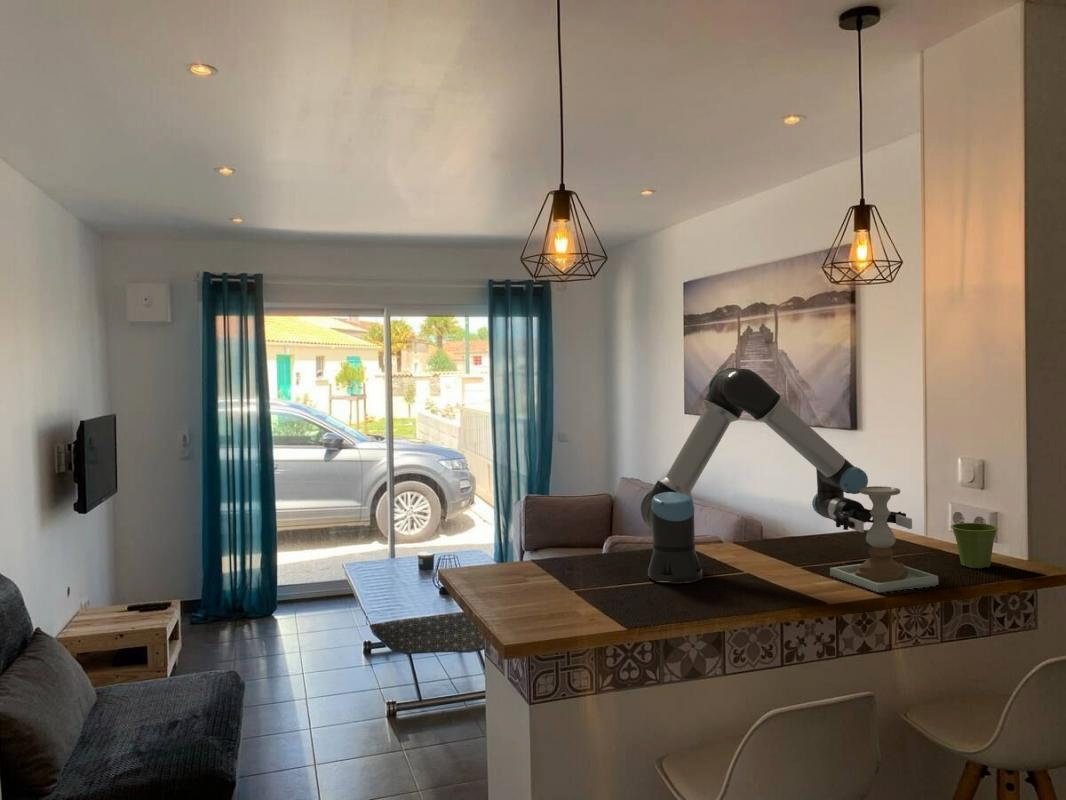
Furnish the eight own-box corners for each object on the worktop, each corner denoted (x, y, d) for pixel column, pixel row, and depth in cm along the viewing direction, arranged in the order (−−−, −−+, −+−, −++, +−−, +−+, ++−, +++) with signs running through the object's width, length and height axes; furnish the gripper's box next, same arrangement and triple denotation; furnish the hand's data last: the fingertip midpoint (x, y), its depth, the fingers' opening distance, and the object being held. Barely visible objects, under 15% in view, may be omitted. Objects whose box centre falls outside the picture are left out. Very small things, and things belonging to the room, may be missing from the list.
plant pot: (987, 560, 240) (986, 521, 240) (1006, 570, 228) (1006, 530, 228) (944, 561, 241) (944, 522, 241) (961, 571, 229) (961, 531, 229)
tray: (877, 594, 211) (877, 584, 211) (830, 576, 229) (829, 567, 229) (938, 585, 217) (938, 576, 217) (887, 569, 235) (887, 560, 235)
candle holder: (897, 584, 215) (895, 493, 214) (854, 579, 222) (852, 490, 221) (908, 575, 224) (906, 487, 223) (866, 570, 231) (864, 484, 230)
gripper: (887, 521, 243) (931, 536, 222) (806, 527, 240) (842, 542, 219) (887, 496, 242) (930, 508, 221) (805, 501, 239) (841, 514, 218)
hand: (886, 525), depth 220 cm, fingers open, 13 cm apart
